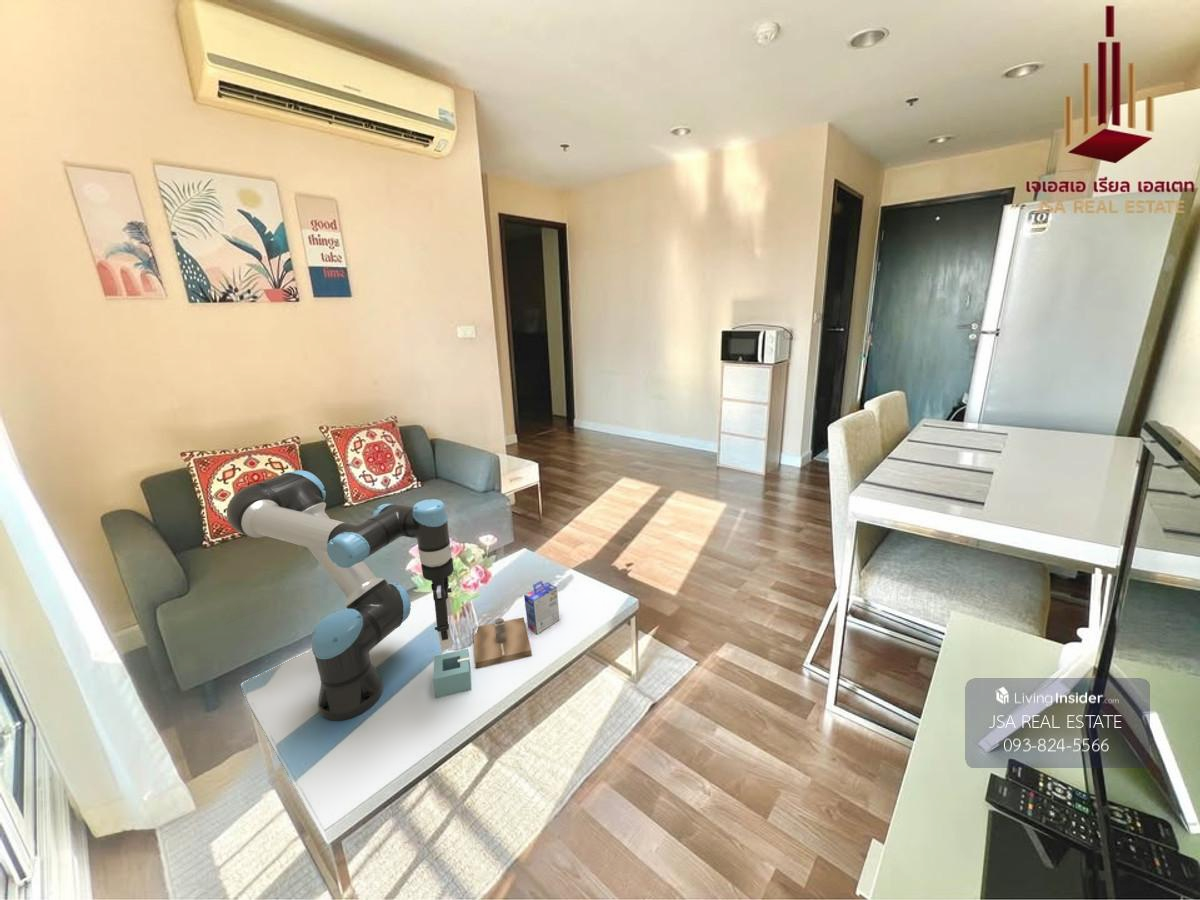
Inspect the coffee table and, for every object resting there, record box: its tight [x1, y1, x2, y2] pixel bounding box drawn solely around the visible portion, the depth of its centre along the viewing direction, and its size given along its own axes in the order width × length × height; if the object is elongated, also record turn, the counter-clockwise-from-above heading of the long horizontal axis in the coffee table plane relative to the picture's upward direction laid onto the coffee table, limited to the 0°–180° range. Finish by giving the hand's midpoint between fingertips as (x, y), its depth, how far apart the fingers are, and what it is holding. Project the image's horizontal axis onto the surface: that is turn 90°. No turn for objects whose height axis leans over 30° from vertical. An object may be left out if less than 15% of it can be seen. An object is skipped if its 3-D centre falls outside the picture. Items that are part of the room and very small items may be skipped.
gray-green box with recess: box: [432, 648, 472, 699], centre depth 127 cm, size 9×9×6 cm
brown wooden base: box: [473, 616, 533, 669], centre depth 140 cm, size 16×16×8 cm
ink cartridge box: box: [523, 580, 560, 635], centre depth 148 cm, size 10×6×14 cm, turn 137°
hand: (446, 630), depth 123 cm, fingers open, 13 cm apart
